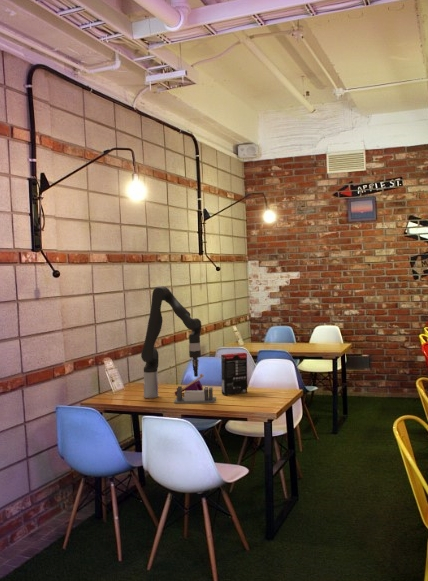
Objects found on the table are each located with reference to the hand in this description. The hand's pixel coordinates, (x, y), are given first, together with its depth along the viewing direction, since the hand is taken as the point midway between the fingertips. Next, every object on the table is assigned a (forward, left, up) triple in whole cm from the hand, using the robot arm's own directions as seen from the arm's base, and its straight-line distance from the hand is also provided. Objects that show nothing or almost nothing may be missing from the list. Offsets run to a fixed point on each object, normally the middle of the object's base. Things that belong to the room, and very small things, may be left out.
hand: (196, 376), depth 370 cm
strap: (-3, 0, -5) cm, 6 cm away
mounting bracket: (-8, +19, -16) cm, 26 cm away
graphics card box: (+24, +20, -16) cm, 35 cm away
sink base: (-1, 0, -16) cm, 16 cm away
